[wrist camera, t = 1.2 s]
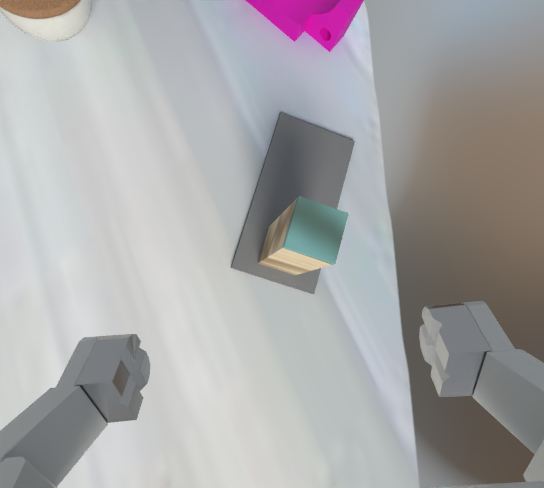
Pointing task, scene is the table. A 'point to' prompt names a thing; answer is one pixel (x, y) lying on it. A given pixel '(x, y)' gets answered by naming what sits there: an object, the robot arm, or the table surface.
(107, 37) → the table surface
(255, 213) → the mat
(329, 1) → the toy block
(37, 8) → the lidded jar
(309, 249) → the tall block
